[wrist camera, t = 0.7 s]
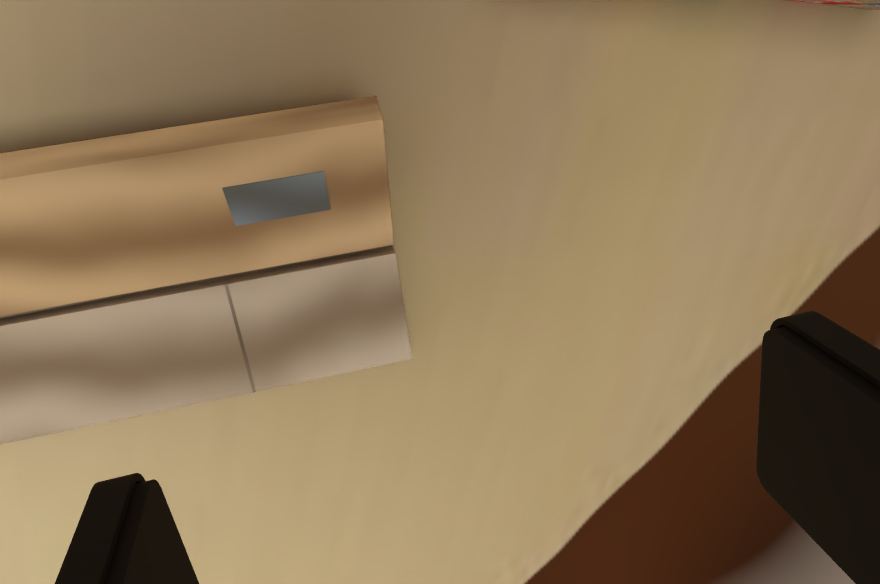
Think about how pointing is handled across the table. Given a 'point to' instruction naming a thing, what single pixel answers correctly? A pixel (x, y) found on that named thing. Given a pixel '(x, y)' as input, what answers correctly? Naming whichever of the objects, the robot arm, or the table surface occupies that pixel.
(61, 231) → the board
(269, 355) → the floor row
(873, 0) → the stack of blocks
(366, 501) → the table surface
